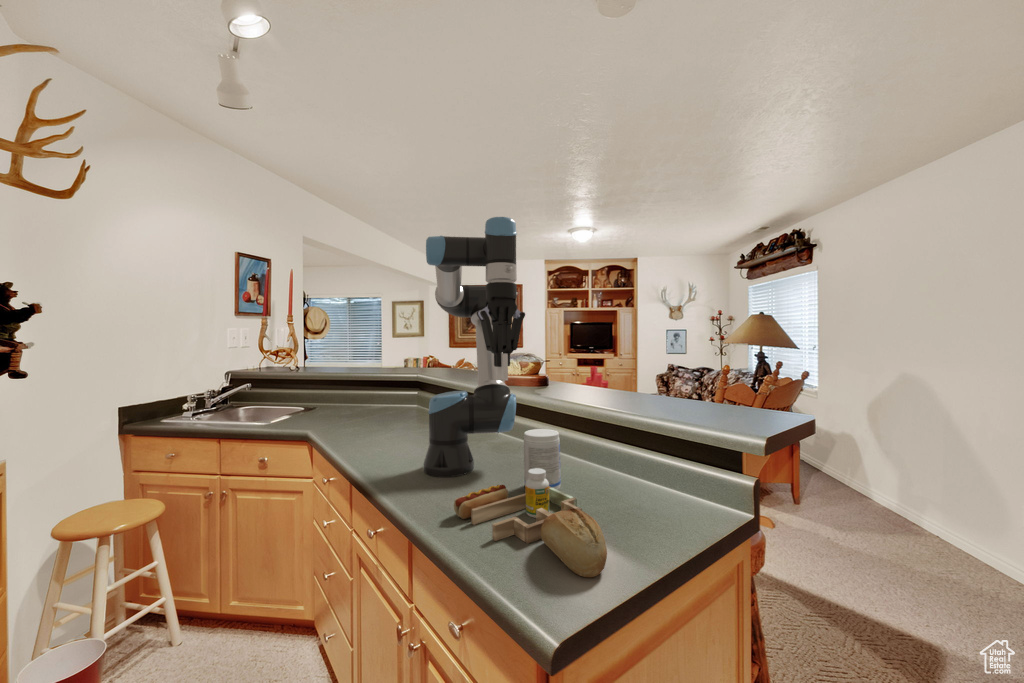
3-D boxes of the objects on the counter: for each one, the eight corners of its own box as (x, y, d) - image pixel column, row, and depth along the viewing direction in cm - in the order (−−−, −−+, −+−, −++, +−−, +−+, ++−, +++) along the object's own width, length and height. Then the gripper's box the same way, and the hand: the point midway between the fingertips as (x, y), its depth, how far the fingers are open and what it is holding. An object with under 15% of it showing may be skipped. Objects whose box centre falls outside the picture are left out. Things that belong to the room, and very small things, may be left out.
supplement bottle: (539, 506, 93) (539, 465, 93) (554, 514, 88) (553, 471, 88) (520, 512, 90) (520, 469, 90) (535, 520, 85) (534, 476, 85)
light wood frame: (471, 523, 85) (471, 509, 85) (549, 498, 97) (549, 486, 97) (508, 551, 73) (508, 535, 73) (591, 519, 86) (591, 505, 86)
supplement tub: (568, 489, 103) (567, 433, 103) (539, 498, 98) (538, 438, 98) (545, 479, 111) (544, 426, 111) (517, 486, 106) (516, 431, 106)
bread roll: (569, 534, 80) (569, 494, 80) (622, 572, 66) (622, 524, 66) (528, 546, 75) (528, 504, 75) (576, 589, 62) (576, 538, 62)
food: (497, 499, 97) (497, 479, 97) (512, 506, 93) (512, 485, 93) (449, 516, 88) (449, 494, 88) (463, 525, 84) (462, 501, 84)
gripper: (486, 278, 89) (487, 383, 89) (531, 283, 97) (532, 379, 97) (470, 283, 95) (471, 380, 95) (514, 286, 103) (515, 377, 103)
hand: (502, 380), depth 96 cm, fingers closed
